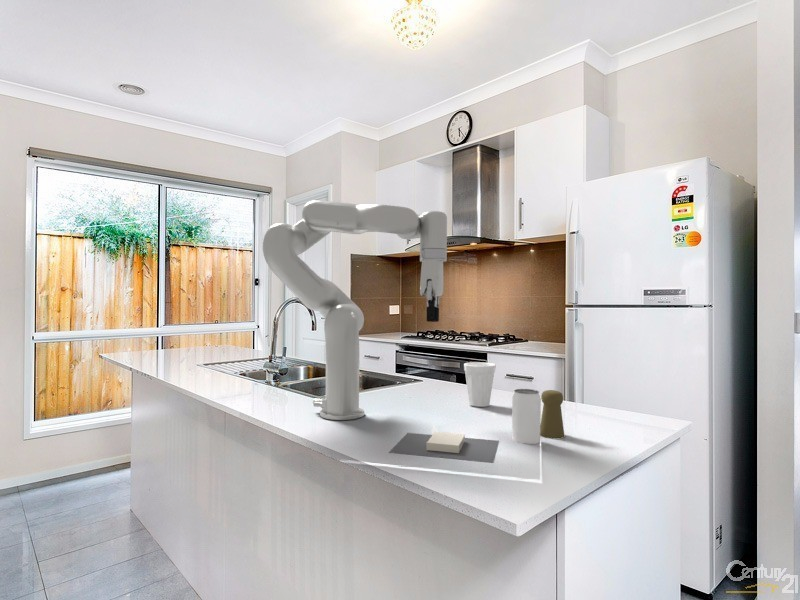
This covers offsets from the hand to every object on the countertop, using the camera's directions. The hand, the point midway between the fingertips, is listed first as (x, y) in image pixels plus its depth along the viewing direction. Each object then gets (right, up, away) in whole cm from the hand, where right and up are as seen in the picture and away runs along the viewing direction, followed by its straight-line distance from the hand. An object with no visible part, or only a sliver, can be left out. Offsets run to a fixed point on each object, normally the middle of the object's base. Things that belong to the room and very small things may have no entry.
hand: (432, 321), depth 137 cm
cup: (+16, -27, +16) cm, 36 cm away
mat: (+1, -27, -28) cm, 39 cm away
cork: (+28, -28, -16) cm, 43 cm away
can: (+20, -28, -22) cm, 41 cm away
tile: (+2, -26, -24) cm, 35 cm away
